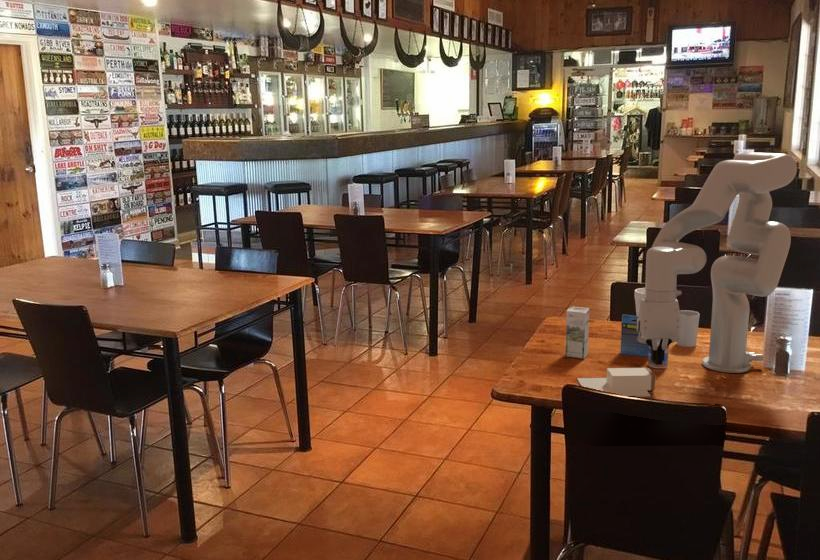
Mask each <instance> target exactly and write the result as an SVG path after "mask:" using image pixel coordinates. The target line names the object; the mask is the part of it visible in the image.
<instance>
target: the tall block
mask: <svg viewBox="0 0 820 560" xmlns="http://www.w3.org/2000/svg"><path fill="white" fill-rule="evenodd" d="M605 378H606V383H607V384H608V386H609V387H610V389H611V390H612V391H622V390H647V391H655V390H656V375H655V373H654V372H653V371H652V370H651V369H650V368H649V367H615V368H614V367H612V368H611V367H610V368H609V367H608V368H606V377H605Z"/></svg>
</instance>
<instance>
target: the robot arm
mask: <svg viewBox="0 0 820 560" xmlns="http://www.w3.org/2000/svg"><path fill="white" fill-rule="evenodd" d="M797 171H798V164H797V160H795V157H794V156H792V155H790V154H788V153H777V152H776V153H775V152H753V151H752V152H751V151H748V152H742V153H738V154H737V155H735V156H734V157H733V158H732V159H725V160H722V161H719V162H717V164H715V166H714V167H713V169H712V170H711V172H709V173H710V174H709V175H708V177H707V179H706V180H705V182H704V184H703V186H702V187H701V189H700V191H699V192H698V195H697V196H696V198H695V200H694V201H693V203H692V204H691V205H690V206H688V207H687V208H685V209H683V210H682V211H680V212H679V213H677V214H676V215H675V216H673V217H671V219H669V220H668V221H667V222H666V223H665V224H664V225H663V226H662V228H661V229H660V231H659V232H658V234H657V235H656V237H655V239H654V241H653V244H652V245H651V247H650V248H648V250H646V251H647V252H646V255H645V256H646V257H645V282H644V283H645V284H644V285H645V286H644V288H645V299H642V300H641V303H640V307H639V313H638V321H637V320H636V322H637V333H638V338H637V340H638V342H640V343H645V344H648V345H649V346H650V347H651V360H652V361H653V362H654V363H655V365H658V364H660V365H662V362H663V361H664V355H665V350H666V349H667V347H668V346H669V347H670V345H671V344H672V343H677V342H678V341H680V337H679V335H680V311H681V310H680V305H679V300H678V299H677V297H678V296H681V295H682V294H683V293H682V290H680V289H677V278H678V277H677V276H678V275H691V274H696V273H698V272H701V270H702V269H703V268H704V267H705V265H706V263H707V254H706V252H705V250H704V249H703V248H702V247H700V245H699V246H698V245H695V244H692V243H691V244H690V243H686V242H685V243H684V242H681V241H680V240H681V239H683V237H685V236H686V235H688V234H689V233H692V232H693V231H696V230H699V229H703V228H706V227H710V226H713V225H716V224H719V223H720V222H721V221H724V219H725V216H726V214H727V213H728V211H729V210H730V208H731V206H732V204H733V202H734V201H735V199H736V197H737V195H738V197H739V198H738V204H737V208H736V211H735V214H734V215H733V221H732V222H731V225H730V229H729V233H728V238H727V244H728V246H729V248H730V249H732V250H734V251H735V252H738V253H743V254H749V255H756V256H758V259H756V258H755V259H754V258H749V257H743V256H740V255H738V256H737V255H722V256H720V257H718V258H717V259H715V260H714V261H713V264H711V265H712V266H711V267H710V268H711V269H710V281H711V287H712V306H711V307H712V308H711V322H710V334H709V335H710V336H709V348H708V355H707V356H705V357H703V358H702V365H703V366H704V367H705V368H707V369H709V370H712V371H715V372H720V373H727V374H728V373H730V374H740V373H741V374H742V373H745V372H748V371H750V370H751V368H752V363H751V362H753V361H756V362H762V361H764V355H763V353H755V352H754V351H752V352H751V351H750V352H748V351H747V344H748V342H747V341H748V331H749V330H748V329H749V322H750V321H749V320H750V319H749V318H750V302H749V300H748V297H747V295H751V296H756V297H768V296H771V294H773V292H775V290H776V288H777V287H778V285H779V282H780V278H781V276H782V274H783V273H782V272H783V269H784V267H785V263H786V260H787V258H788V254H789V250H790V247H791V242H792V241H791V240H792V238H791V236H792V235H791V233H790V232H791V231H790V229H789V228H788V226H787V225H785V224H784V223H782V222H779V221H774V220H773V221H772V220H769V219H770V216H771V211H772V209H773V199H772V196H771V194H770V192H772V191H775V190H778V189H781V188H783V187H784V188H785V187H786V186H788V185H789V184H791V182H793V180H794V178H796V175H797ZM679 241H680V242H679ZM656 339H660V341H659V345H658V347H657V340H656Z"/></svg>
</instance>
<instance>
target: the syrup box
mask: <svg viewBox="0 0 820 560" xmlns="http://www.w3.org/2000/svg"><path fill="white" fill-rule="evenodd" d="M565 321H566V325H565V357H566V358H573V359H581V360H584V359H585V358H586V357H587V355H588V354H589V330H590V329H589V326H590V324H589V323H590V307H581V306H570V307H568V309H567V310H566V319H565Z"/></svg>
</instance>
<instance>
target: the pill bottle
mask: <svg viewBox="0 0 820 560" xmlns="http://www.w3.org/2000/svg"><path fill="white" fill-rule="evenodd" d="M656 340H657V347H658V345H659V341H660V339H656ZM669 350H670V345H669V346H668V347H667V349H666V350H665V355H664V361H663V362H662V365H660V364H658V365H655V363H654V362H653V361H652V360H651V347H650V346H649V352H648V357H647V365H648V366H649V367H650V368H653V369H660V370H661V369H667V367H668V366H669V364H668V363H669V352H670V351H669Z"/></svg>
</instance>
